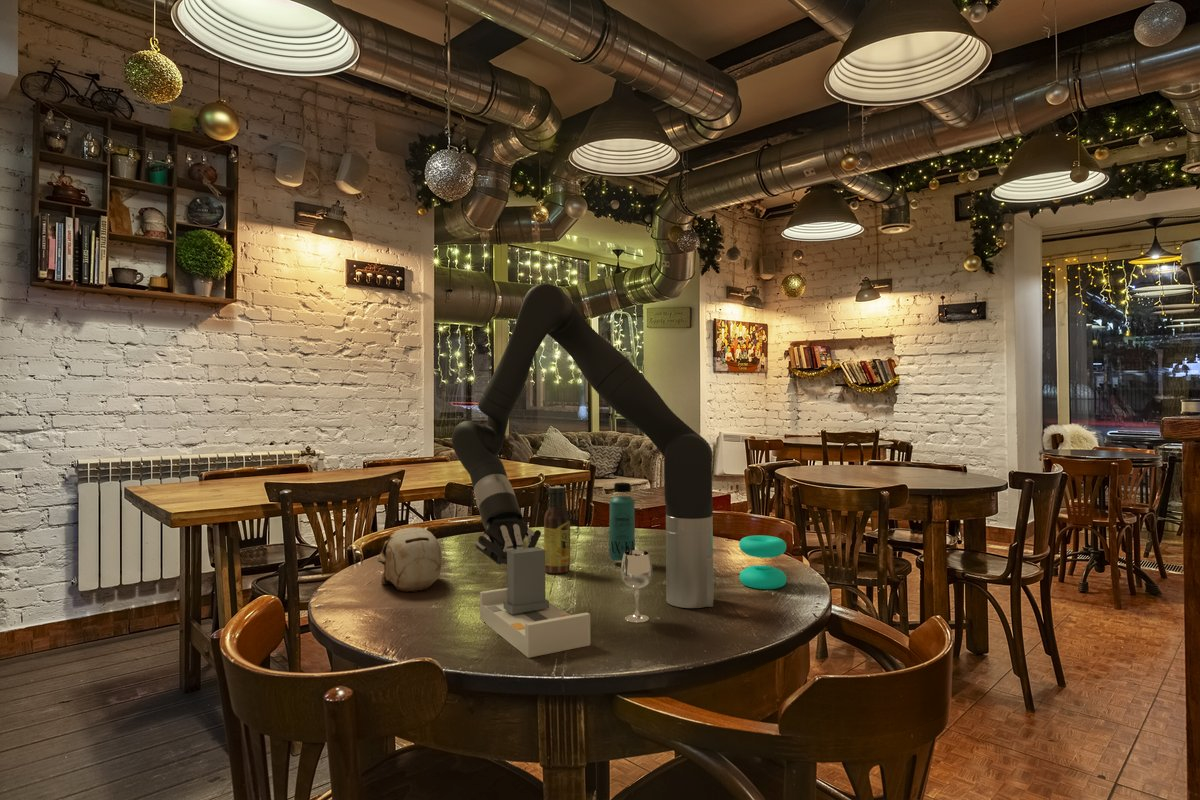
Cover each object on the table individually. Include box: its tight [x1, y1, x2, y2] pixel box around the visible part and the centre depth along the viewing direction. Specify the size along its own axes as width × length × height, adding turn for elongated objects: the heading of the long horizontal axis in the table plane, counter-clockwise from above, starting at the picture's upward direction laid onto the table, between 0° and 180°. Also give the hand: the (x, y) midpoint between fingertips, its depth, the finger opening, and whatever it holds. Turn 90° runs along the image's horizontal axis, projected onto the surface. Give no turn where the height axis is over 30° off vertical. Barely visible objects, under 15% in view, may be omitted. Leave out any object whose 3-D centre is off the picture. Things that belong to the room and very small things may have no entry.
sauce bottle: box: [543, 486, 571, 575], centre depth 160 cm, size 6×6×20 cm
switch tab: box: [504, 546, 550, 614], centre depth 120 cm, size 4×7×10 cm, turn 120°
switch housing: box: [479, 587, 591, 659], centre depth 118 cm, size 22×11×5 cm, turn 30°
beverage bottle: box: [608, 482, 636, 562], centre depth 167 cm, size 6×7×20 cm
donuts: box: [738, 534, 788, 590], centre depth 148 cm, size 10×10×10 cm
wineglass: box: [620, 549, 653, 623], centre depth 124 cm, size 6×6×12 cm
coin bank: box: [377, 526, 443, 593], centre depth 149 cm, size 16×17×13 cm
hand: (522, 579), depth 122 cm, fingers closed
